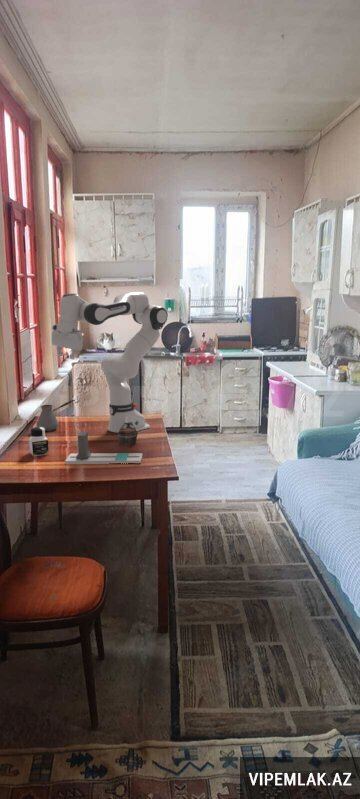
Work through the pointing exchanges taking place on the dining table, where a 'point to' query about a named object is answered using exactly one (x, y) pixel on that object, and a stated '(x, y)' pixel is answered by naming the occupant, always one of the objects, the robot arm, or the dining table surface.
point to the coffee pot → (49, 417)
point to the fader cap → (83, 446)
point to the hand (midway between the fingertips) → (66, 357)
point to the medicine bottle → (38, 442)
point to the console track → (106, 458)
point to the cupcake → (127, 434)
